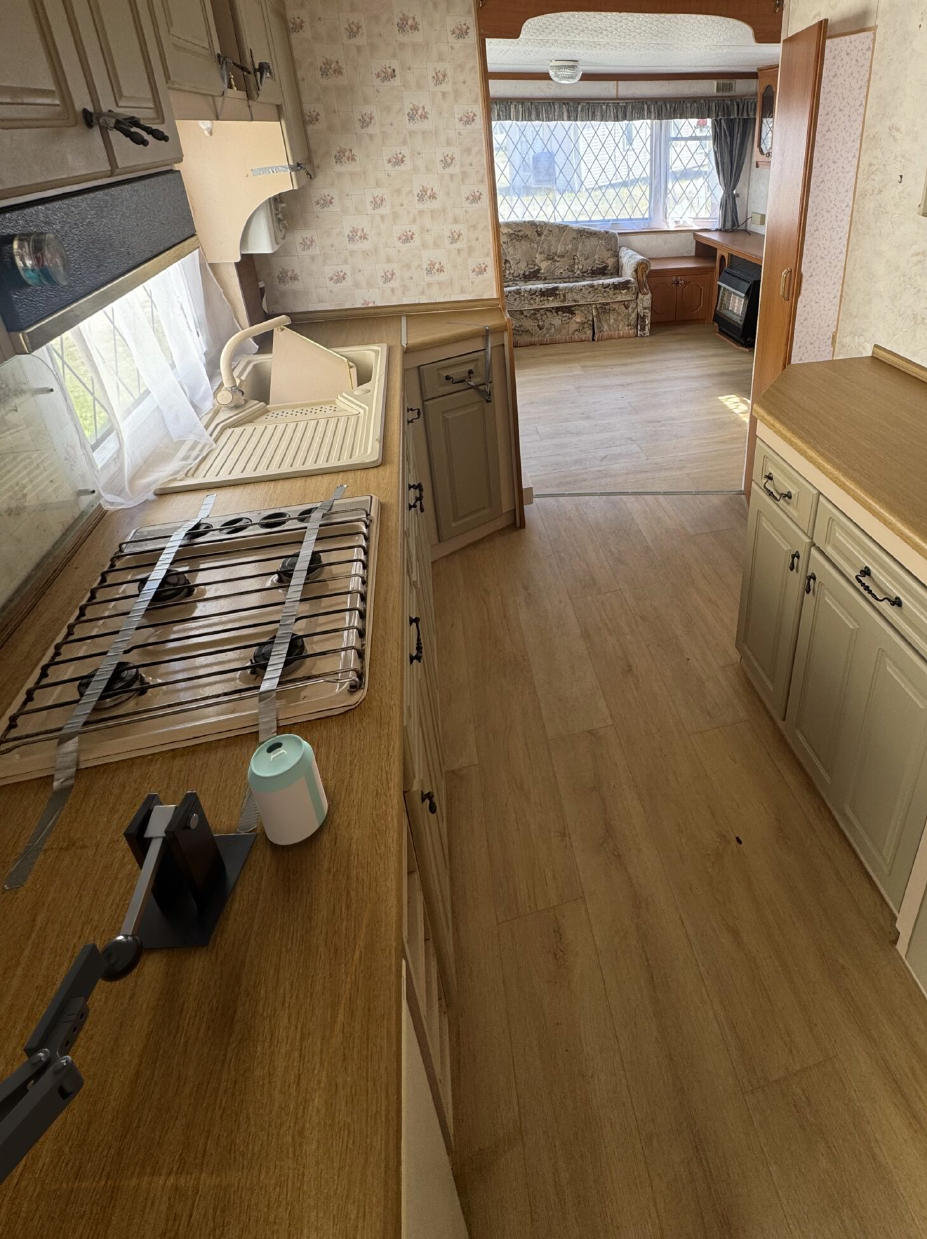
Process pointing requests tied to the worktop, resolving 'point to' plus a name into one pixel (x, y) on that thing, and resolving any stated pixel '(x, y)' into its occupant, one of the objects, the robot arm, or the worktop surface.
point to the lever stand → (186, 874)
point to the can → (287, 789)
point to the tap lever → (137, 903)
